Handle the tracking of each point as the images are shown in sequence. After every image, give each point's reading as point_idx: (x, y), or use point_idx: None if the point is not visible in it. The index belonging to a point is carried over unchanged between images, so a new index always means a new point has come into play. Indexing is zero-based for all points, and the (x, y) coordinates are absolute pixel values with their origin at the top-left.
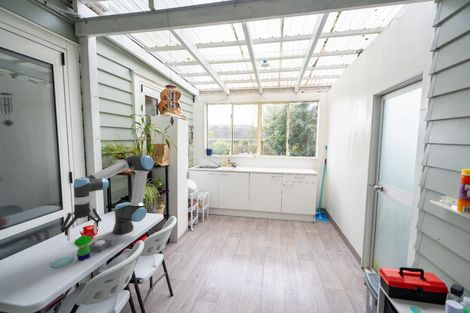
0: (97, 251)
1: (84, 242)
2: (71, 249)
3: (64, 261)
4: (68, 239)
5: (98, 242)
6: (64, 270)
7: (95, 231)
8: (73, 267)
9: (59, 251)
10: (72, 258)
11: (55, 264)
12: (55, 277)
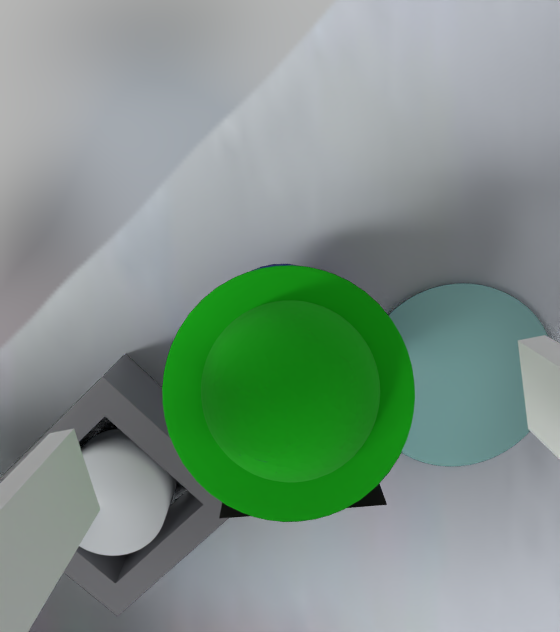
0: (155, 386)
1: (270, 305)
2: (381, 601)
3: (447, 368)
4: (554, 344)
5: (124, 506)
6: (451, 182)
7: (50, 448)
8: (377, 189)
9: (475, 623)
10: None
11: (519, 356)
12: (526, 88)
